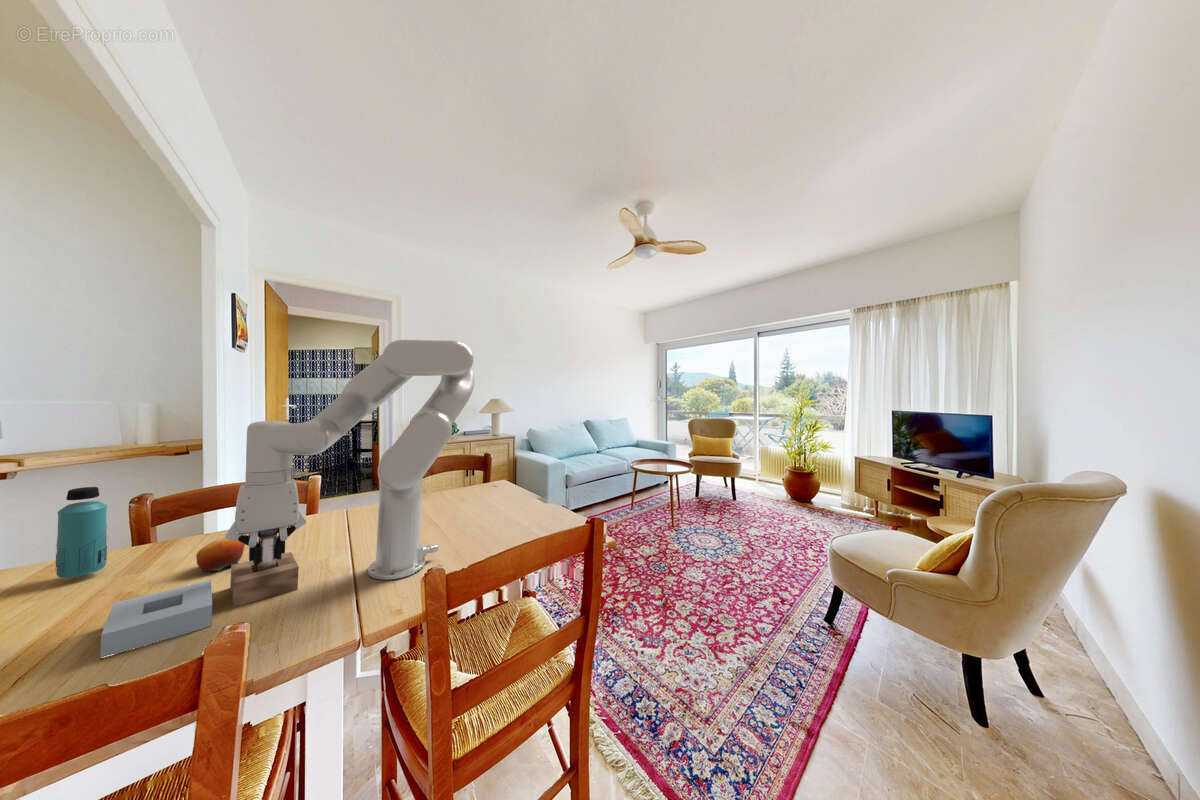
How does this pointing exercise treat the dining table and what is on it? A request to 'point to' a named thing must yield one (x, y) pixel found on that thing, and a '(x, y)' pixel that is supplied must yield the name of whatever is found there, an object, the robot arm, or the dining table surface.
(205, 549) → the fruit
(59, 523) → the beverage bottle
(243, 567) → the block
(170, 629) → the dock
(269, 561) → the pin
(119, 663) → the dining table surface
